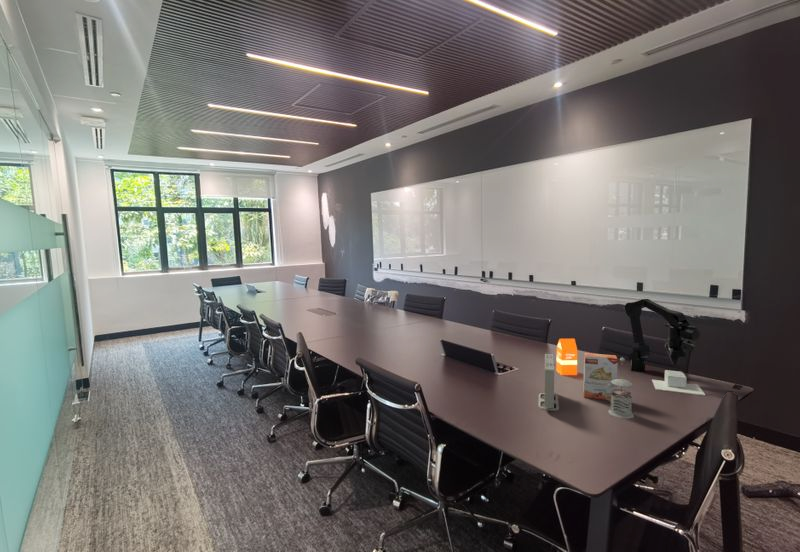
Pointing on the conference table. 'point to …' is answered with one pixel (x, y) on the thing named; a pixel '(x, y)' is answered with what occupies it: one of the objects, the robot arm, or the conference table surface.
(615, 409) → the french press
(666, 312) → the robot arm
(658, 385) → the grey mat
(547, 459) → the conference table surface
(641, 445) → the conference table surface
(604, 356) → the cracker box
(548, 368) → the network device
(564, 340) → the orange juice
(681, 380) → the small box
